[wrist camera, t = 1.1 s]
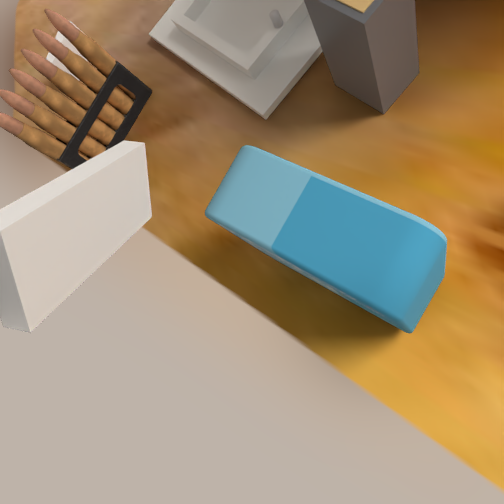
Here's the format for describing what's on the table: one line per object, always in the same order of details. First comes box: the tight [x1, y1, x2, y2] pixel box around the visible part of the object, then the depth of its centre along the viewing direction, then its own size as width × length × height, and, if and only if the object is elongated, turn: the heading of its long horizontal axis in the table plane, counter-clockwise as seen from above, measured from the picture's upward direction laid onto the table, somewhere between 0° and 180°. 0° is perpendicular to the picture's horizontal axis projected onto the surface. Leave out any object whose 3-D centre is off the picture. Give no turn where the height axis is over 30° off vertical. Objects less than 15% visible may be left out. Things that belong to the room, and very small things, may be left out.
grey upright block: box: [304, 0, 419, 114], centre depth 30 cm, size 4×5×10 cm
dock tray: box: [149, 0, 323, 119], centre depth 39 cm, size 13×17×4 cm
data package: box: [205, 145, 447, 333], centre depth 27 cm, size 12×4×12 cm, turn 57°
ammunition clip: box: [0, 9, 152, 169], centre depth 38 cm, size 11×2×12 cm, turn 146°
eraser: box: [46, 21, 88, 81], centre depth 47 cm, size 1×5×4 cm, turn 156°
